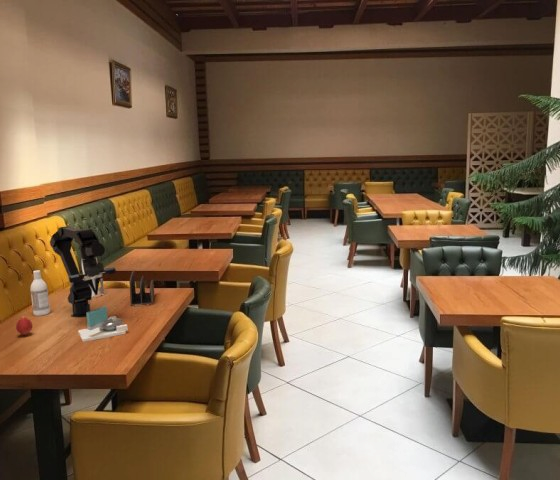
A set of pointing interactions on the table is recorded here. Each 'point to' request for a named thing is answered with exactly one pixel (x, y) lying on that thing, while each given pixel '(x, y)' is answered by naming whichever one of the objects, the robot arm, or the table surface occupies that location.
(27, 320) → the onion
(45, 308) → the bath foam
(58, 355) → the table surface
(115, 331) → the plate
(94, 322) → the cam foot
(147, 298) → the letter holder
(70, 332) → the table surface
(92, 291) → the skyscraper
